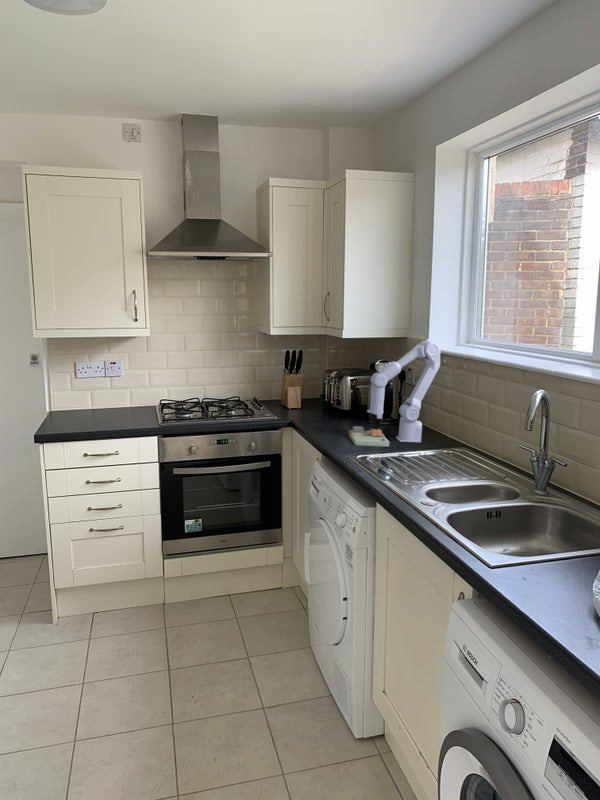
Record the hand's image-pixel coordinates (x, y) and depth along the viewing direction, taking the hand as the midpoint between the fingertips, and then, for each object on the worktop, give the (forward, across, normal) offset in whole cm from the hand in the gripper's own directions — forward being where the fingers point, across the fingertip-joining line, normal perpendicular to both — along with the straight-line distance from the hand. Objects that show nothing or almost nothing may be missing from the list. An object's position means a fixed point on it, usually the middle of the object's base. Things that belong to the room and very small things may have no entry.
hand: (374, 431), depth 263 cm
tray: (+3, +8, -3) cm, 10 cm away
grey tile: (+1, -1, -7) cm, 7 cm away
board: (+3, 0, -4) cm, 5 cm away
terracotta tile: (+1, +3, 0) cm, 3 cm away
